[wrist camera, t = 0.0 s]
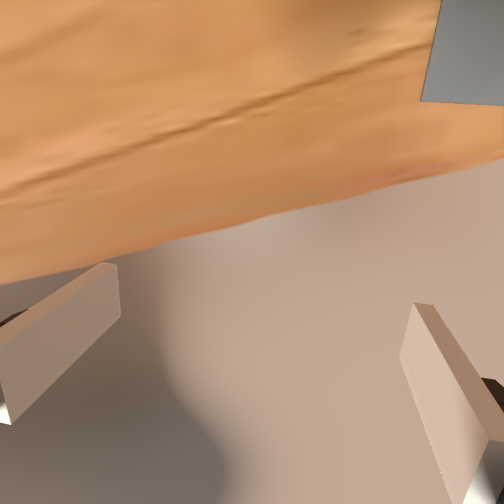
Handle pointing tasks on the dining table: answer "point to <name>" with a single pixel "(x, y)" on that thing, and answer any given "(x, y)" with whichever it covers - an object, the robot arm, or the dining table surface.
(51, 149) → the dining table surface
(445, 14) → the slate mat
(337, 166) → the dining table surface
